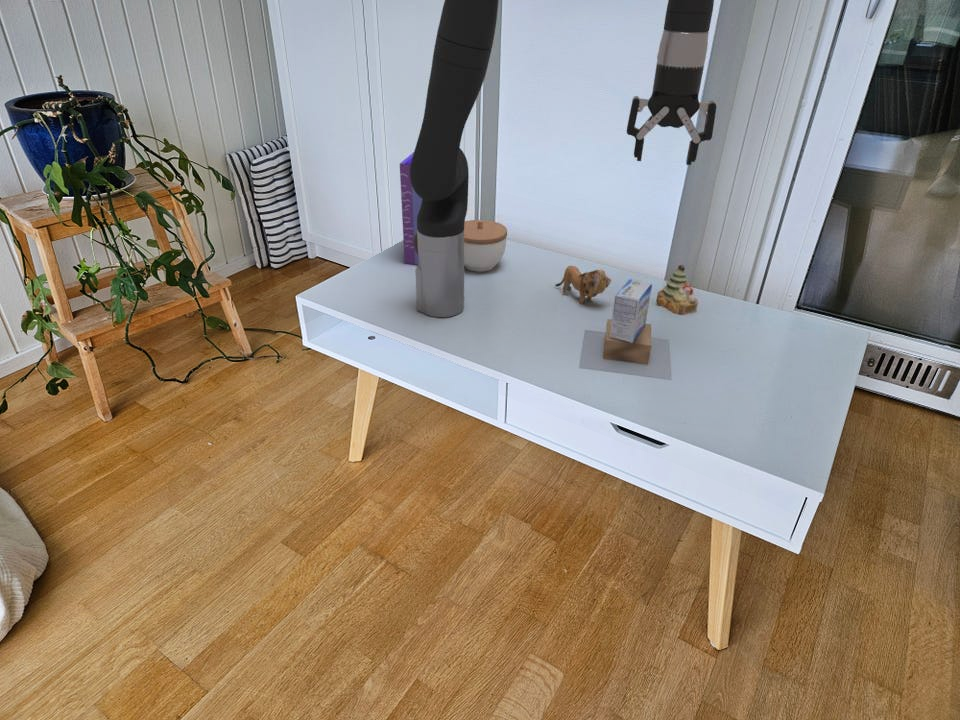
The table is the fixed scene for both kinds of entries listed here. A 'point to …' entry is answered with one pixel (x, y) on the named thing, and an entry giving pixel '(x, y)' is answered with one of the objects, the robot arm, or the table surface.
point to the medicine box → (630, 310)
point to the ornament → (677, 294)
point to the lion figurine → (585, 282)
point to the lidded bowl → (483, 244)
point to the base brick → (628, 347)
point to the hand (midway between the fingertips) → (663, 162)
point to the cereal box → (409, 213)
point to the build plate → (594, 361)
